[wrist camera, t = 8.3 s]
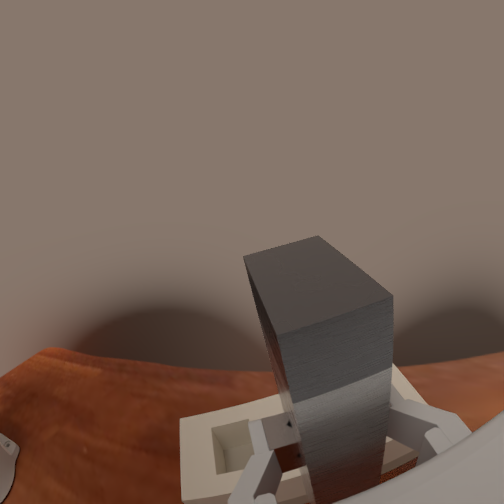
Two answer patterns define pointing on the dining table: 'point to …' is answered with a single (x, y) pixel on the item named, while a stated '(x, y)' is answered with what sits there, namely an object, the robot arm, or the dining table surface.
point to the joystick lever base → (252, 450)
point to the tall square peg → (327, 361)
